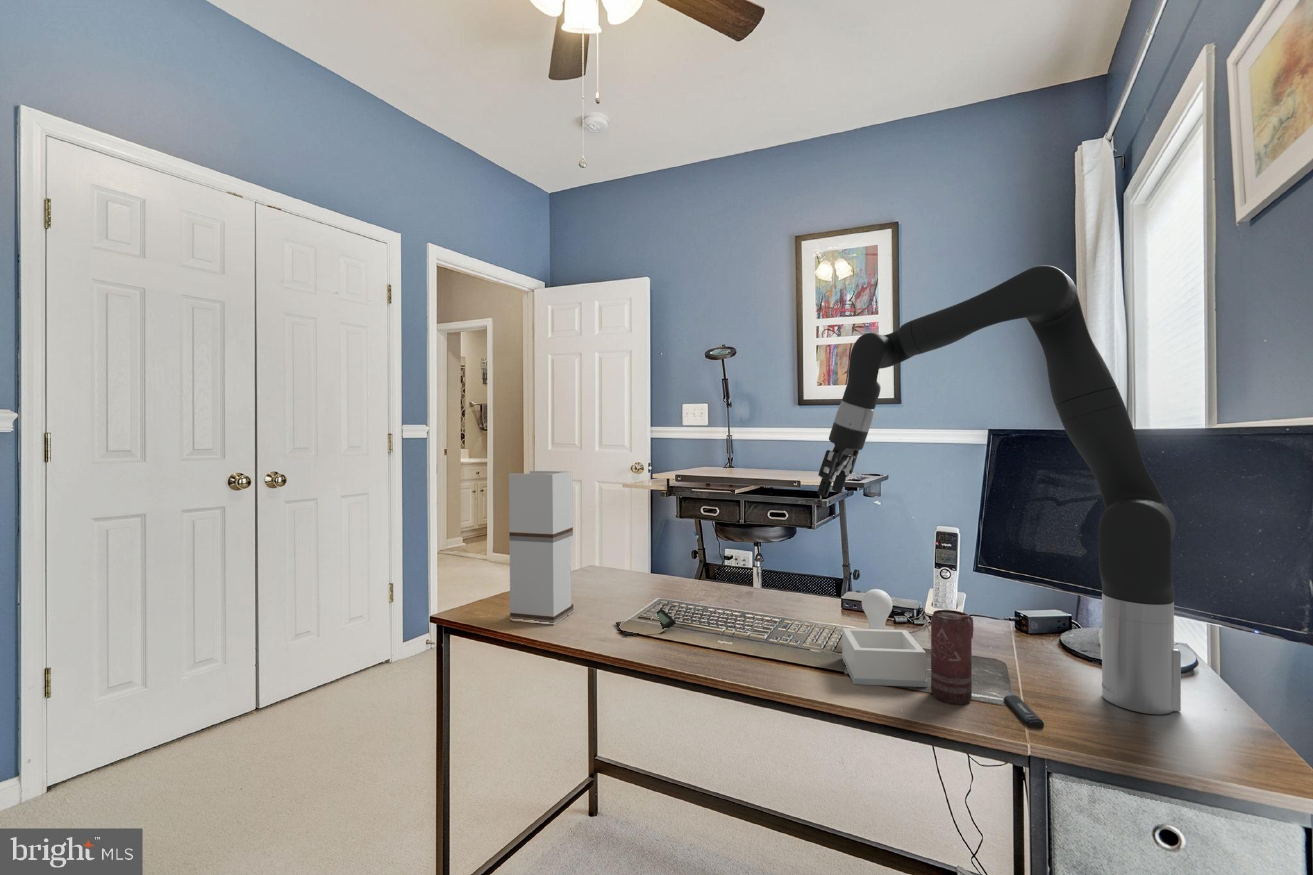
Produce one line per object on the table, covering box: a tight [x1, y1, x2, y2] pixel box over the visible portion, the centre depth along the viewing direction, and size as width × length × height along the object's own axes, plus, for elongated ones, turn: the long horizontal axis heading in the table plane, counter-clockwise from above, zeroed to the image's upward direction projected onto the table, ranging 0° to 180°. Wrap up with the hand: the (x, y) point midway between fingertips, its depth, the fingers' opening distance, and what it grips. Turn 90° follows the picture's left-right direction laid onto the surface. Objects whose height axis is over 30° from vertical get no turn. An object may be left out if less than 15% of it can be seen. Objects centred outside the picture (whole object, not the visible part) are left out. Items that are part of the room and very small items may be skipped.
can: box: [930, 609, 975, 705], centre depth 103 cm, size 6×6×14 cm
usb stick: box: [1003, 694, 1045, 729], centre depth 97 cm, size 10×3×2 cm, turn 170°
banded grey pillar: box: [508, 470, 574, 623], centre depth 150 cm, size 11×11×35 cm
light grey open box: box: [841, 627, 928, 688], centre depth 114 cm, size 12×12×6 cm
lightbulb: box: [861, 588, 893, 630], centre depth 131 cm, size 6×6×11 cm
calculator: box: [615, 608, 677, 637], centre depth 141 cm, size 9×12×3 cm
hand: (829, 493), depth 138 cm, fingers open, 8 cm apart
